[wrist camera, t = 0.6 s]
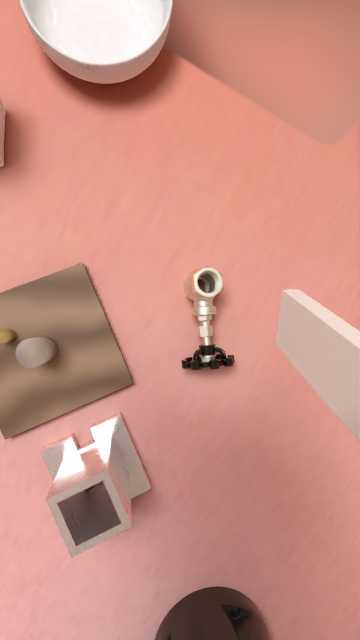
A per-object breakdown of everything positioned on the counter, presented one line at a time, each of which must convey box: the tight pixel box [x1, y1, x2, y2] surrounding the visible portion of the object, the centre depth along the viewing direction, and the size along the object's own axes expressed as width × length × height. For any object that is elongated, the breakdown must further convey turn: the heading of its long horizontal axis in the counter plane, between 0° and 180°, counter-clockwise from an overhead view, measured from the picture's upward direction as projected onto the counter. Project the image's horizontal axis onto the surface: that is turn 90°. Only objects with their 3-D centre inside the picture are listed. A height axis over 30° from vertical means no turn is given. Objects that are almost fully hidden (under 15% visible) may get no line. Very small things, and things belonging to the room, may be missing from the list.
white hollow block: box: [41, 413, 151, 558], centre depth 37 cm, size 10×10×11 cm
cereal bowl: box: [19, 0, 173, 84], centre depth 40 cm, size 17×17×7 cm
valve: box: [182, 266, 234, 370], centre depth 42 cm, size 7×7×12 cm
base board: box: [0, 263, 133, 440], centre depth 38 cm, size 16×16×8 cm
